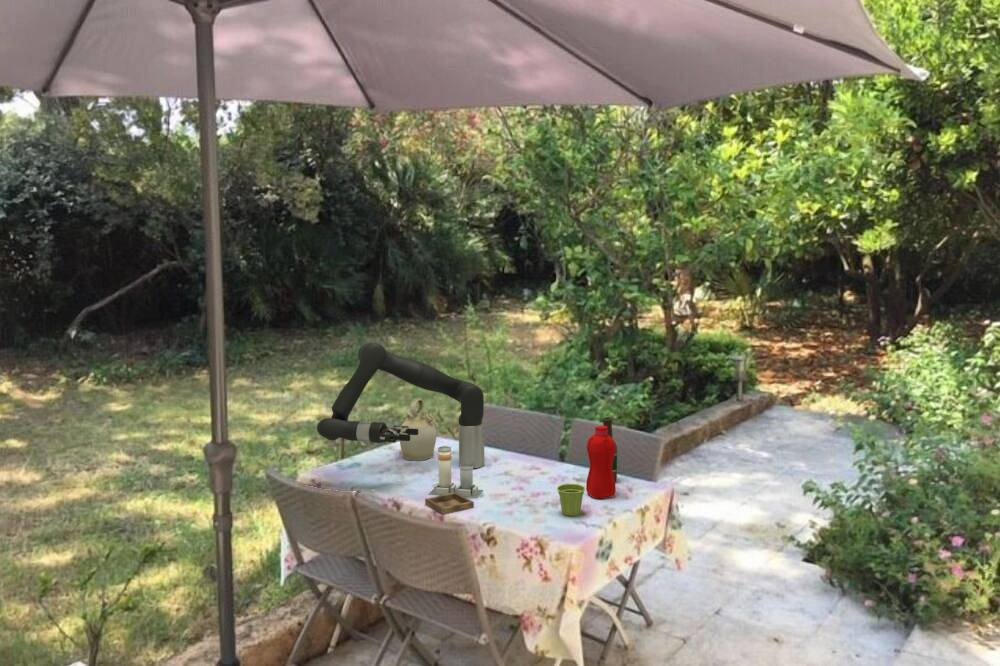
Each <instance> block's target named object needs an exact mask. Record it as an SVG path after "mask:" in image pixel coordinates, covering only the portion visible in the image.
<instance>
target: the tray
mask: <svg viewBox="0 0 1000 666" xmlns="http://www.w3.org/2000/svg"><path fill="white" fill-rule="evenodd" d="M424 502H425V503H424V505H425V506H427V508H430V509H432V510H434V511H435V512H436V513H438V514H440V515H442V516H443V515H447V514H448V515H449V514H454V513H458V512H462V511H466V510H470V509H473V508H475V507H474V506H475V503H474V501H473V500H471V499H470V498H465V497H464V496H462V495H460V494H458V493H456V492H455V493H450V494H445V495H441V496H438V495H435V496H432V497H429V498H428V497H427V498H425V499H424Z"/></svg>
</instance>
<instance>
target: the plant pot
mask: <svg viewBox="0 0 1000 666" xmlns="http://www.w3.org/2000/svg"><path fill="white" fill-rule="evenodd" d="M556 491H557V492H558V495H559V501H560V508H561V514H562V515H563V516H566V515H567V516H571V517H576V516H579V515H580V514H581V511H582V504H583V496H584V494H585V491H586V487H585V486H584V485H581V484H577V483H564V484H560V485H558V486H557V487H556Z"/></svg>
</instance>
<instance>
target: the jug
mask: <svg viewBox="0 0 1000 666" xmlns="http://www.w3.org/2000/svg"><path fill="white" fill-rule="evenodd" d="M424 403H425V402H424V400H423V398H422V397H415V398H413V400H412V402H411V403H410V408H409V409H410V411H409V412H410V414H411V415H412V416H410V414H408V413H407V412H403V417H402V418H403V420H404V422H403V423H402V424H401V426H409V428H412V429H418V432H419V434H418V435H410V441H399V445H400V449H401V453H402V458H403V459H404V458H405V459H404V460H406V459H407V460H408V461H413V460H419V461H426V460H425V459H427V460H429V459H431V458H433V456H434V455H433V454H434V451H435V447H436V443H437V441H436V440H437V429H436V426H435V425H434V423H433V421H434V420H435V417H434V416H433V415H432V414H430V413H426V414H425V417H424V416H422V414H423V412H424V407H425V404H424ZM417 405H418V408H417ZM403 431H405V430H403ZM428 458H429V459H428Z"/></svg>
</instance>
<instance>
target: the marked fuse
mask: <svg viewBox="0 0 1000 666" xmlns="http://www.w3.org/2000/svg"><path fill="white" fill-rule="evenodd" d="M437 450H438V451H437V452H438V453H437V458H438V459H437V460H438V483H439V488H449V493H450V492H451V491H450V488H451V483H452V447H451V446H447V445H445V446H444V445H442V446H439V447H437Z"/></svg>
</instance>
